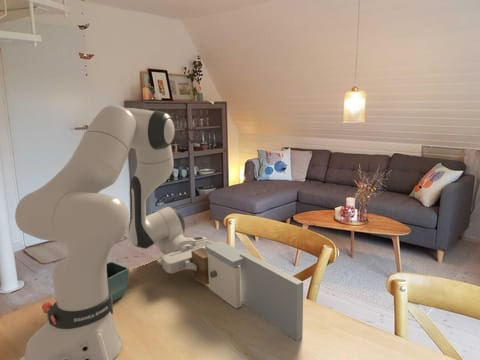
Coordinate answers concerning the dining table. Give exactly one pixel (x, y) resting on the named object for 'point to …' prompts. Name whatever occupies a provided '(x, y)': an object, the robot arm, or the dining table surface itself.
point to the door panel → (224, 280)
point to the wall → (266, 289)
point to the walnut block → (201, 265)
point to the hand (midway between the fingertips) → (204, 265)
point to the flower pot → (117, 279)
